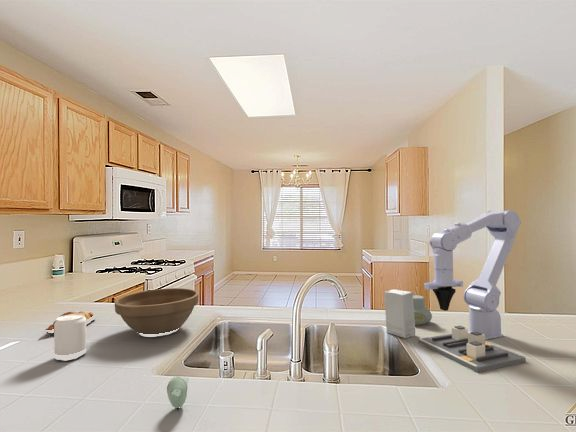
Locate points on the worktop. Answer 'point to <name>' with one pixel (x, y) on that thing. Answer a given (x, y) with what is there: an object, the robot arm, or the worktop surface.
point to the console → (458, 353)
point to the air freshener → (421, 311)
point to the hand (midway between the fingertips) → (444, 309)
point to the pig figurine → (177, 391)
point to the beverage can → (70, 334)
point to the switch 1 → (459, 332)
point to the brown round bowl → (157, 309)
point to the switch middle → (476, 337)
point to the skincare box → (399, 313)
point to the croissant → (87, 315)
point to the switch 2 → (475, 350)
